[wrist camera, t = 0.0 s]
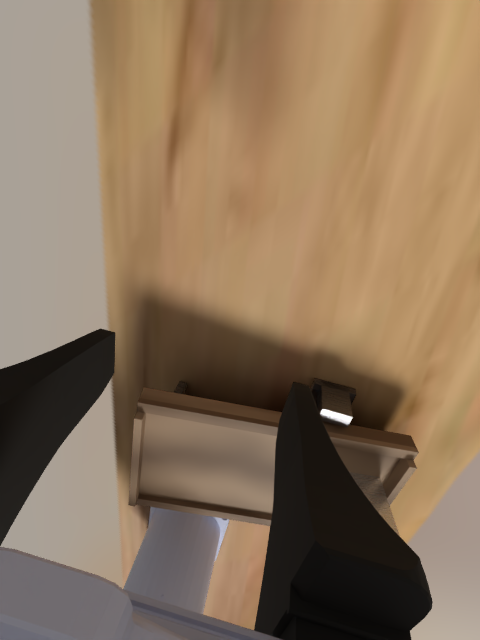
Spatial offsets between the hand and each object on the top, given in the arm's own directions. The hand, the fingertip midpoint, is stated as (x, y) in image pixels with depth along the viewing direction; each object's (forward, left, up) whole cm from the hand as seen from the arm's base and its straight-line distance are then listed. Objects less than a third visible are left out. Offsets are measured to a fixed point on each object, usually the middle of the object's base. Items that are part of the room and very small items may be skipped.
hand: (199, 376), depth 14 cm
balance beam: (-13, -8, -8) cm, 17 cm away
